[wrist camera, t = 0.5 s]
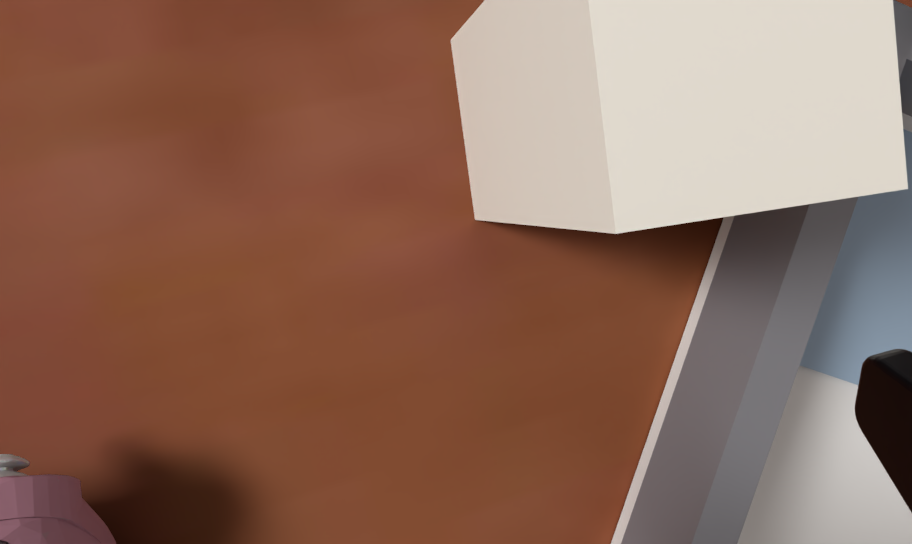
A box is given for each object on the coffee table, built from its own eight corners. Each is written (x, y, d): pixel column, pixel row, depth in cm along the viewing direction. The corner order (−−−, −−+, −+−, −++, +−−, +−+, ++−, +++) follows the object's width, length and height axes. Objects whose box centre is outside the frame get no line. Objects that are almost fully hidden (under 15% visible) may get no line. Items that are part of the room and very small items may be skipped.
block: (641, 195, 24) (908, 188, 13) (475, 219, 23) (616, 233, 13) (621, 20, 24) (882, -132, 13) (450, 39, 23) (575, -106, 12)
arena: (931, 658, 27) (1039, 738, 23) (602, 569, 25) (658, 639, 21) (1107, 165, 27) (1247, 158, 23) (788, 28, 25) (882, -6, 21)
